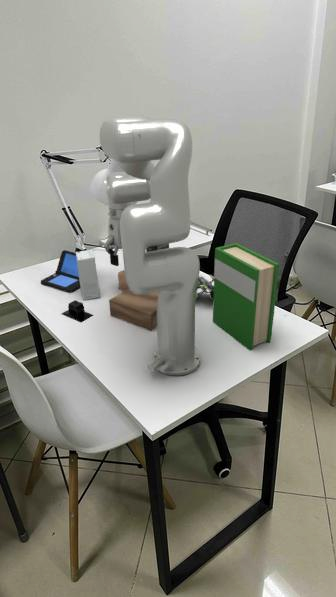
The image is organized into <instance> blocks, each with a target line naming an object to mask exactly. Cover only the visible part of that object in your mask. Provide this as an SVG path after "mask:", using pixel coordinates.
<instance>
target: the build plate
mask: <svg viewBox="0 0 336 597" xmlns="http://www.w3.org/2000/svg"><path fill="white" fill-rule="evenodd" d="M67 304H68V305H67V308H68V309H67V310H65V311H64V312H61V313H60V315H62V316H65V317H66V318H70V319H72V320H74V321H76V322H78V323H83V322H85V321H86V320H88V319H90V318H91V317H92V318H93V317H94V314H93V313H90V312H87V311H86V310H85V306H84V303H83V302H82V301H81V302H80V301H78V300H76V299H75V300H73V301H71V302H69V303H67Z"/></svg>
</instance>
